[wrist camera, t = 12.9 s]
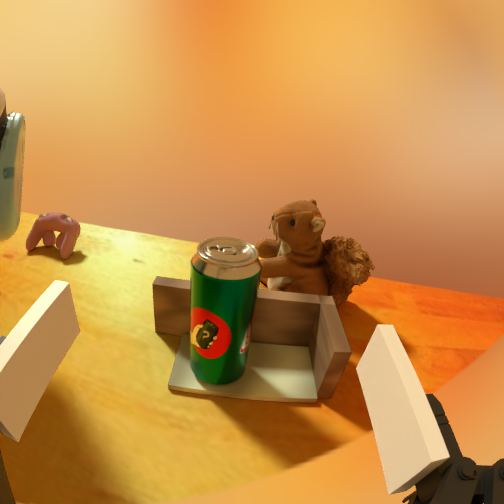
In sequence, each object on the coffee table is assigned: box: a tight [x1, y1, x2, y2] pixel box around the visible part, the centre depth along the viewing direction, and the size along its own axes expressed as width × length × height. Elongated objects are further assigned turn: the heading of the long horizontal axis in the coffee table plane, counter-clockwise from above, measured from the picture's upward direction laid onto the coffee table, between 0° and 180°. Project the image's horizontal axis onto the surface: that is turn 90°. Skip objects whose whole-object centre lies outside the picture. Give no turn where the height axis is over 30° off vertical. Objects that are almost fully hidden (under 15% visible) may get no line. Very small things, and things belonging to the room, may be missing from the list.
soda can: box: [190, 237, 262, 385], centre depth 24 cm, size 5×5×12 cm
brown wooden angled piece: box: [153, 276, 352, 403], centre depth 27 cm, size 18×9×6 cm, turn 89°
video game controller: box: [26, 213, 80, 259], centre depth 42 cm, size 10×5×7 cm, turn 84°
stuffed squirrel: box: [256, 199, 375, 307], centre depth 37 cm, size 10×14×13 cm
